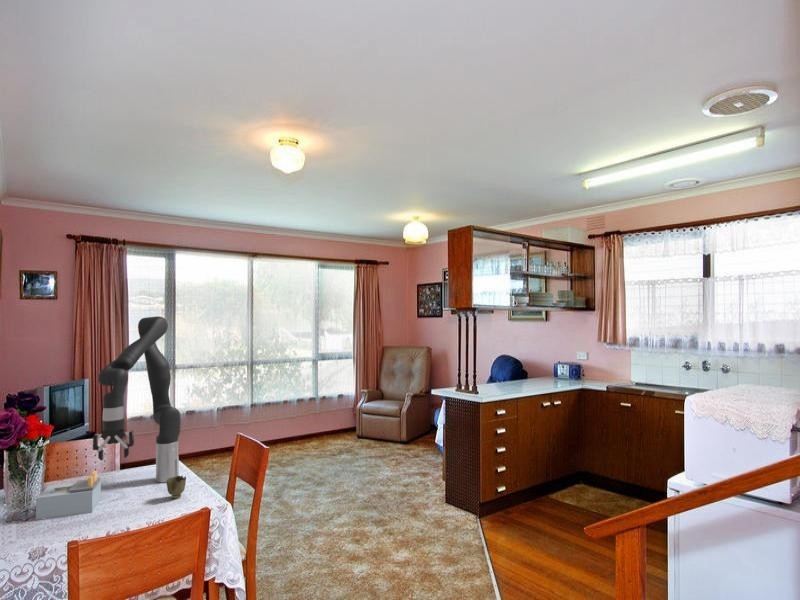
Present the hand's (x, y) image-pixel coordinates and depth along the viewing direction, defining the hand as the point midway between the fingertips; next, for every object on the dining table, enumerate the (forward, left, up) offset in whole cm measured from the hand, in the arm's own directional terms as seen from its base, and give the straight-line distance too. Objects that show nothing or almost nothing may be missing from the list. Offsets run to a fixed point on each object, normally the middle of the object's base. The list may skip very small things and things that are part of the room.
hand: (113, 458), depth 194 cm
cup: (-23, +3, -18) cm, 30 cm away
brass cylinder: (+18, 0, -17) cm, 24 cm away
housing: (+15, 0, -18) cm, 23 cm away
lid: (+10, 0, -9) cm, 14 cm away
